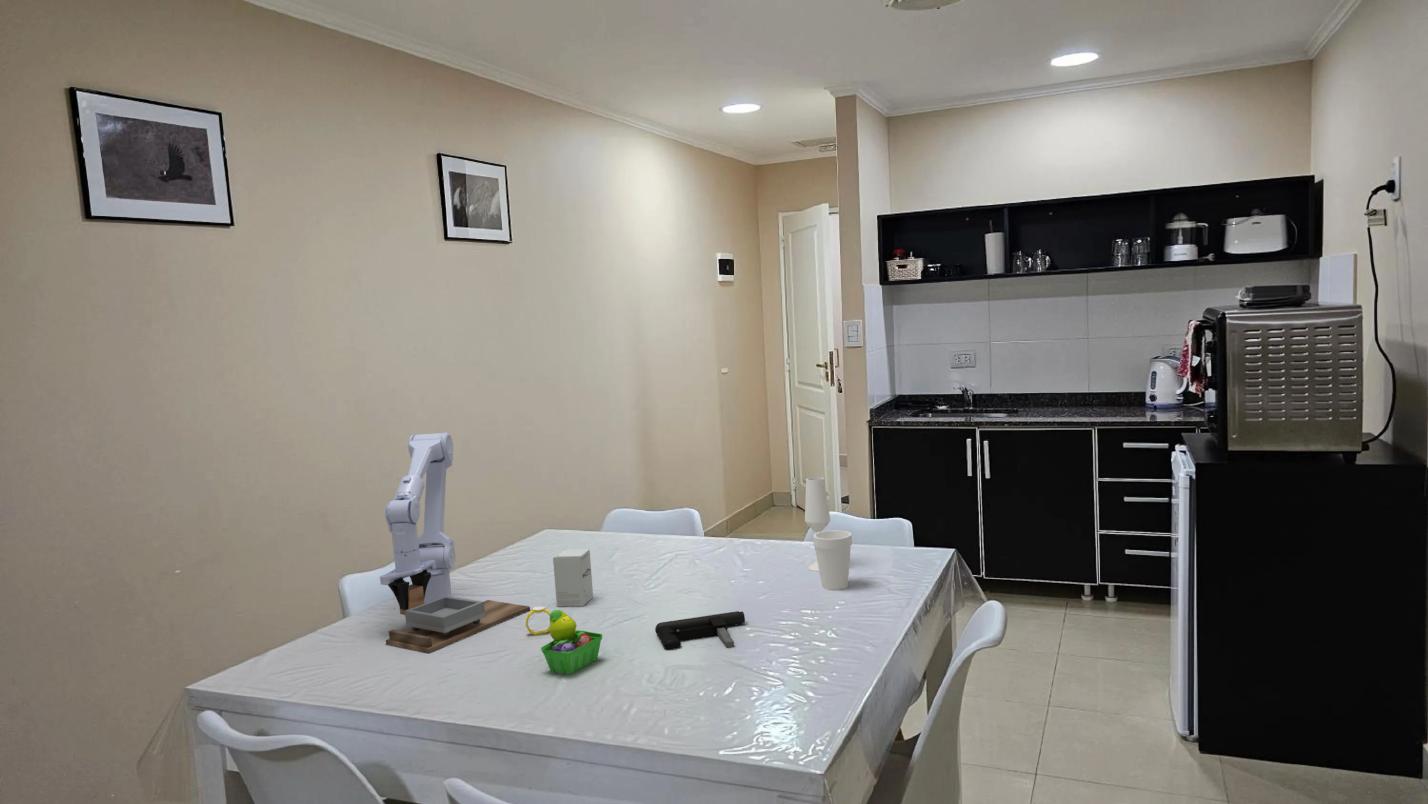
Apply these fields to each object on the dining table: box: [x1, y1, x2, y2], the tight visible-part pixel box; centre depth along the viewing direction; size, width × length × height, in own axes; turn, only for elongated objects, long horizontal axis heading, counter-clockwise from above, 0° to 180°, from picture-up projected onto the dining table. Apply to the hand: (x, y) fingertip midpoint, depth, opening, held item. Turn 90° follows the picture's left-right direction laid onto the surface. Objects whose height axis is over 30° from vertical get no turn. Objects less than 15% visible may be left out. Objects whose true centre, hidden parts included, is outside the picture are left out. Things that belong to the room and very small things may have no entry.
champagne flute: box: [804, 476, 831, 572], centre depth 247 cm, size 7×7×24 cm
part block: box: [399, 583, 425, 616], centre depth 220 cm, size 4×4×6 cm
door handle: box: [654, 610, 746, 651], centre depth 200 cm, size 3×20×16 cm
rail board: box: [385, 599, 531, 654], centre depth 219 cm, size 14×31×3 cm, turn 147°
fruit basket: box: [540, 609, 604, 675], centre depth 189 cm, size 11×9×11 cm
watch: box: [525, 606, 551, 636], centre depth 210 cm, size 6×3×6 cm, turn 104°
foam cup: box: [812, 529, 853, 591], centre depth 230 cm, size 10×9×13 cm
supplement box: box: [552, 548, 594, 607], centre depth 232 cm, size 7×7×13 cm
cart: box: [404, 596, 485, 637], centre depth 215 cm, size 13×12×5 cm
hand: (412, 606), depth 220 cm, fingers closed on part block, 4 cm apart
